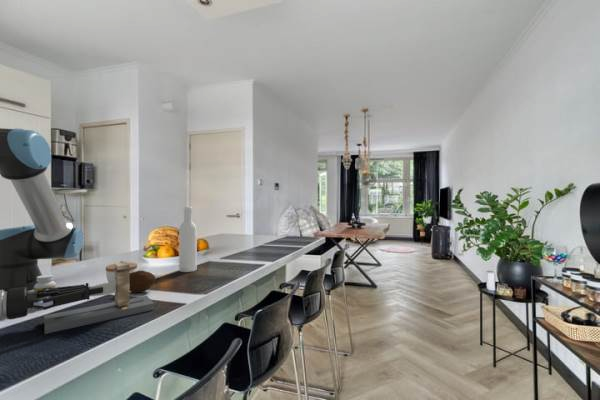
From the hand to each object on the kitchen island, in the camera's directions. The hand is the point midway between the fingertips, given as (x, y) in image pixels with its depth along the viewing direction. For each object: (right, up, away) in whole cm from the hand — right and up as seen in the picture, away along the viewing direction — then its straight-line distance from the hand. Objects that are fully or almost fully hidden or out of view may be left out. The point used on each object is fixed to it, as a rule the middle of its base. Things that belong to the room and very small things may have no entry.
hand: (115, 286), depth 91 cm
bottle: (+2, -7, +52) cm, 53 cm away
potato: (-3, -8, +20) cm, 22 cm away
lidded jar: (-15, -8, +28) cm, 33 cm away
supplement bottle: (-26, -8, +5) cm, 27 cm away
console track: (-3, -8, -2) cm, 9 cm away
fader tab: (+1, -5, +1) cm, 6 cm away
